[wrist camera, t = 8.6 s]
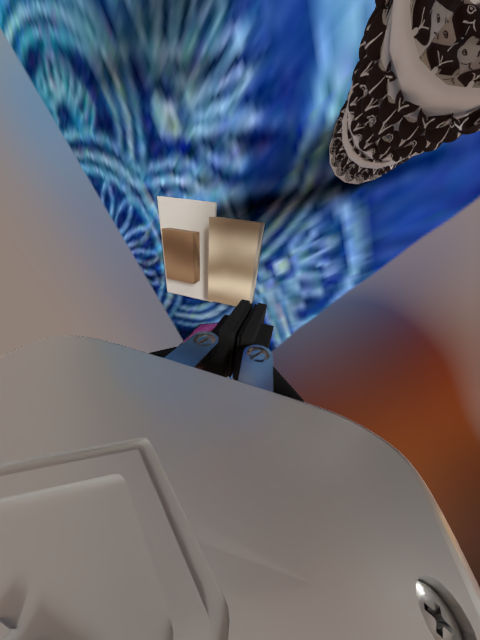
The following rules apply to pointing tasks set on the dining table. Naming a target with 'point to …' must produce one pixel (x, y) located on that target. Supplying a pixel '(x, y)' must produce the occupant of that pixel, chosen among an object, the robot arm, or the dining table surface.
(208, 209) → the off-white mat
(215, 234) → the birch stand
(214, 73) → the dining table surface
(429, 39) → the decorative candle
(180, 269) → the walnut tile
